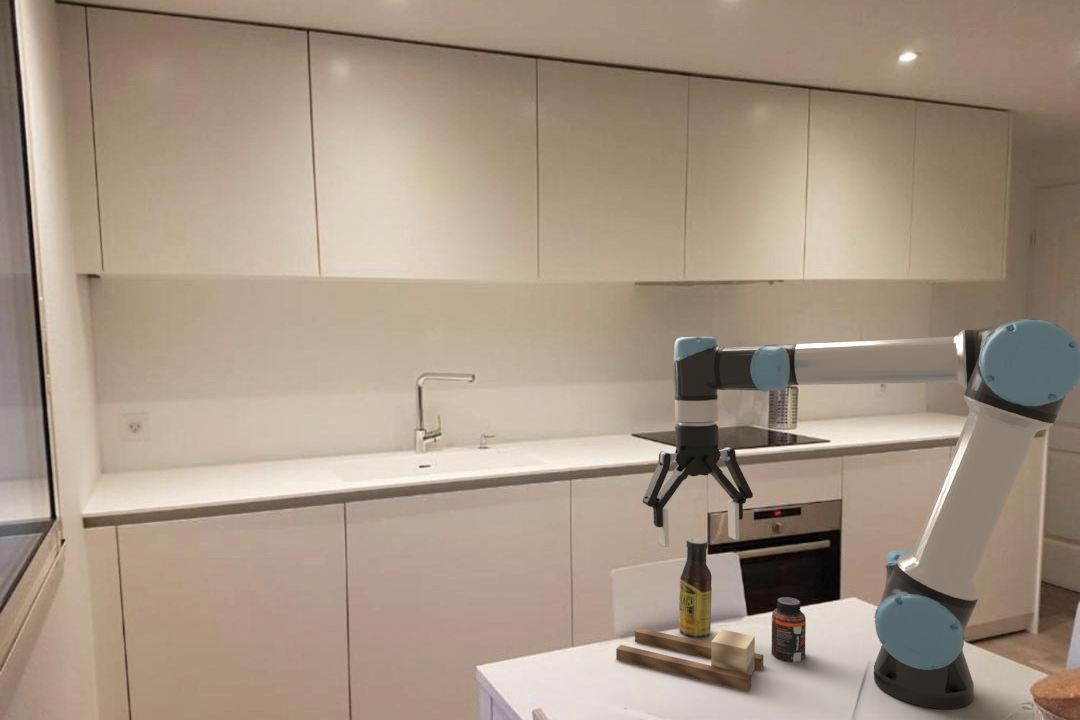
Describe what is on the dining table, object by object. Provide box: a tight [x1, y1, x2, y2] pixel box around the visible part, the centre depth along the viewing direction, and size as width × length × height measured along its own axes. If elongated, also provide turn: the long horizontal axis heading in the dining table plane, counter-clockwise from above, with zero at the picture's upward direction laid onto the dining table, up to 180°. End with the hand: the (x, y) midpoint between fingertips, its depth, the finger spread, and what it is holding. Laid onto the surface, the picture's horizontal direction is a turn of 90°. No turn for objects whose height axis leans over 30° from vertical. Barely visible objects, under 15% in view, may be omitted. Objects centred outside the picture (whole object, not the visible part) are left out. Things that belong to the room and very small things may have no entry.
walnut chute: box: [615, 627, 764, 692], centre depth 131 cm, size 24×12×3 cm, turn 60°
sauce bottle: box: [678, 536, 713, 639], centre depth 144 cm, size 7×6×20 cm
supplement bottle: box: [771, 596, 807, 663], centre depth 134 cm, size 6×6×11 cm
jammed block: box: [710, 628, 756, 676], centre depth 127 cm, size 6×6×6 cm
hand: (699, 541), depth 130 cm, fingers open, 13 cm apart
